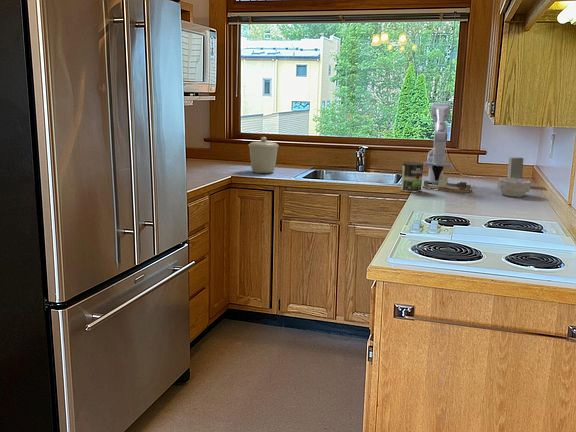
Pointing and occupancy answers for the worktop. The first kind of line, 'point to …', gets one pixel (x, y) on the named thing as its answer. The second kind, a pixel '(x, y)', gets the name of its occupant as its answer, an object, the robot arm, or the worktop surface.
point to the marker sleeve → (443, 181)
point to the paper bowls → (514, 186)
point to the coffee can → (411, 176)
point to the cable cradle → (461, 186)
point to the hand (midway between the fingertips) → (436, 180)
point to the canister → (263, 155)
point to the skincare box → (515, 167)
